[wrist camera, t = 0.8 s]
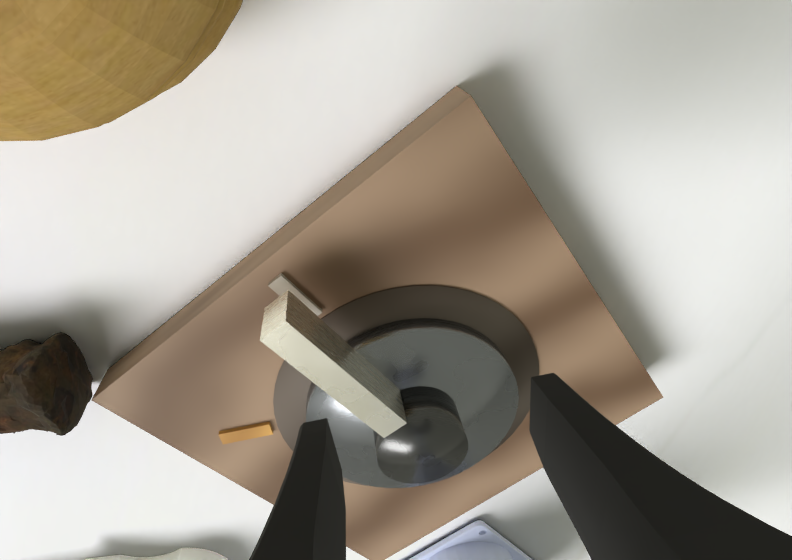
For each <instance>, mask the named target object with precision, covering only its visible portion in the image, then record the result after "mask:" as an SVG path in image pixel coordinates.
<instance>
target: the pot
mask: <svg viewBox="0 0 792 560" xmlns="http://www.w3.org/2000/svg"><path fill="white" fill-rule="evenodd" d="M242 1H243V0H0V141H35V140H46V139H50V138H54V137H58V136H63V135H67V134H71V133H75V132H79V131H83V130H87V129H91V128H95V127H99V126H101V125H103V124H105V123H109V122H111V121H113V120H115V119H117V118H119V117H120V116H122V115H124V114H126V113H128V112H129V111H131V110H133V109H135V108H137V107H138V106H140V105H142V104H144V103H146V102H147V101H149V100H151V99H153V98H155V97H156V96H157V95H159V94H161V93H163V92H164V91H166V90H168V89H170V88H172V87H173V86H175V85H177V84H179V83H181V82H182V81H183V80H184V79H185V78H186V77H187V76H188V75H189V74H190V73H191V72H192V71H193V70H194V69H196V68H197V67H198V66H199V65H200V64H201V63H202V62H203V61H204V60H205V59H206V58H207V57H208V56H209V55H210V54H211V53H212V52H213V51H214V50H215V49H216V47H217V46H218V44H219V42H220V41H221V39H222V37H223V36H224V34H225V32H226V31H227V29H228V27H229V26H230V24H231V22H232V21H233V19H234V17H235V16H236V14H237V12H238V11H239V9H240V7H241V4H242Z"/></svg>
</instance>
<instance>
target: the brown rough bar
mask: <svg viewBox="0 0 792 560" xmlns="http://www.w3.org/2000/svg"><path fill="white" fill-rule="evenodd" d="M91 384H92V375H91V373H90V372H89V370H88V368H87V365H86V362H85V359H84V357H83V355H82V353H81V351H80V349H79V348H78V346H77V345H76V343H75V342H74V341H73V340H72V339H71V338H70V336H68V335H66V334H63V333H57V334H55V335H53V336H51V337H50V338H48V339H47V340H46V341H45V342H44V343H43V344H39V343H37V342H34V341H31V340H28V339H26V340H24V341H21V342H19V343H18V345H12V346H8V347H7V348H6V349H5V350H2V351H0V434H3V433H12V432H13V433H15V432H20V431H24V430H29V429H35V430H44V431H47V432H48V431H51V432H54V433H56V435H65V434H66V433H68V432H70V431H71V430H72V429H73V428H74V427H75V426H77V424H78V422H79V421H80V419H81V417H82V415H83V412H84V410H85V408H86V405H87V403H88V402H89V401H90V400H91V397H92V390H91Z"/></svg>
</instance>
